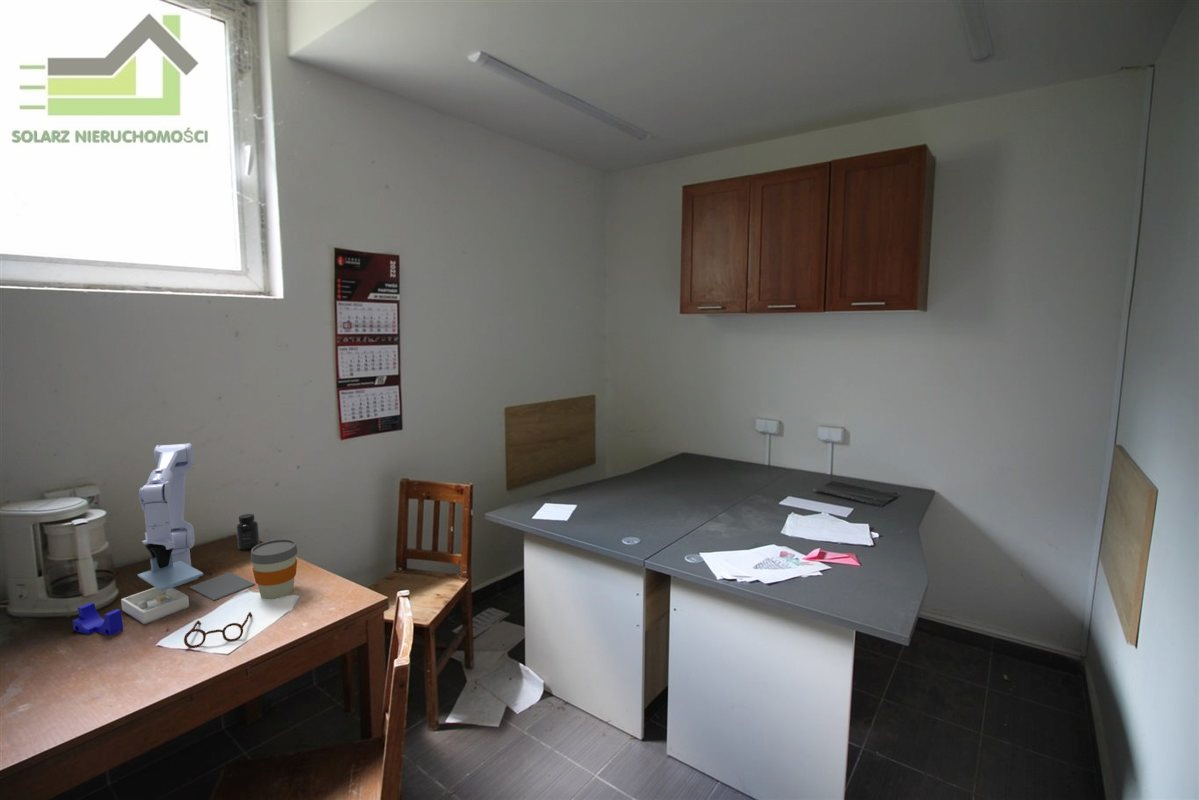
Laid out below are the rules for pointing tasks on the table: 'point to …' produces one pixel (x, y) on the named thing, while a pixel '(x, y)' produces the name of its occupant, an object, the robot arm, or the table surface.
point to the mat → (221, 586)
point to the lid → (169, 574)
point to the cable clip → (97, 621)
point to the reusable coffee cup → (274, 567)
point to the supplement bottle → (247, 532)
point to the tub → (154, 604)
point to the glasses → (214, 632)
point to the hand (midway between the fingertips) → (162, 566)
